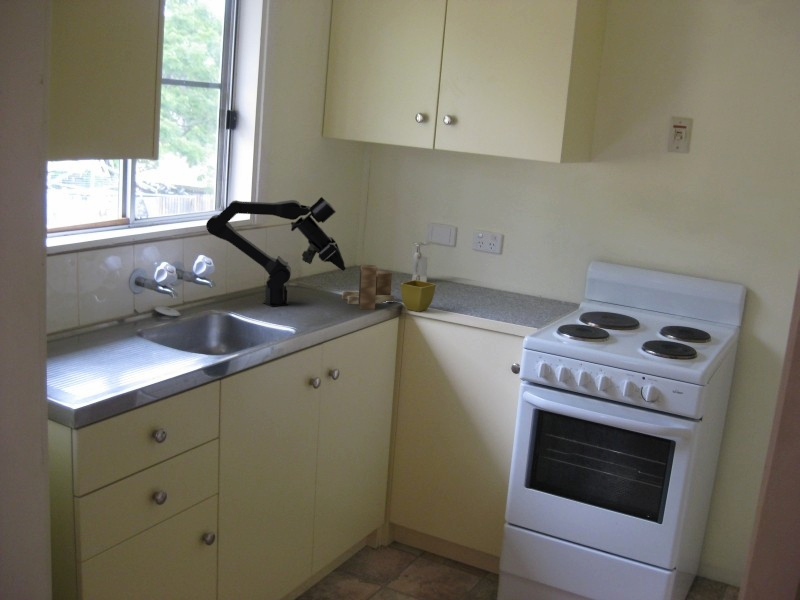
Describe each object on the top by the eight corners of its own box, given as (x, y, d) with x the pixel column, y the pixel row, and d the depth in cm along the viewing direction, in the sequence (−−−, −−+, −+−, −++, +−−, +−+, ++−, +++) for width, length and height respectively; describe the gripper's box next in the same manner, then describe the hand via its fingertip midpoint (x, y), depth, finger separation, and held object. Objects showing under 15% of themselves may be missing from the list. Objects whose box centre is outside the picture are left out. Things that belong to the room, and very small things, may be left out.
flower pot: (435, 309, 300) (436, 283, 298) (420, 314, 293) (422, 287, 291) (413, 305, 304) (414, 279, 302) (398, 309, 297) (400, 283, 295)
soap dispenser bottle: (431, 281, 345) (433, 243, 341) (422, 284, 339) (424, 245, 335) (416, 279, 348) (418, 241, 345) (406, 281, 342) (408, 243, 339)
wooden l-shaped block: (348, 304, 302) (349, 275, 299) (342, 298, 310) (343, 269, 308) (393, 303, 306) (394, 274, 304) (386, 297, 315) (387, 269, 312)
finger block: (358, 308, 296) (360, 267, 293) (358, 305, 301) (360, 264, 298) (374, 309, 296) (376, 268, 293) (374, 305, 301) (376, 265, 298)
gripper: (294, 244, 301) (325, 278, 305) (293, 252, 283) (326, 288, 286) (319, 222, 301) (349, 257, 304) (319, 229, 282) (352, 266, 286)
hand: (343, 267), depth 295 cm, fingers open, 9 cm apart
